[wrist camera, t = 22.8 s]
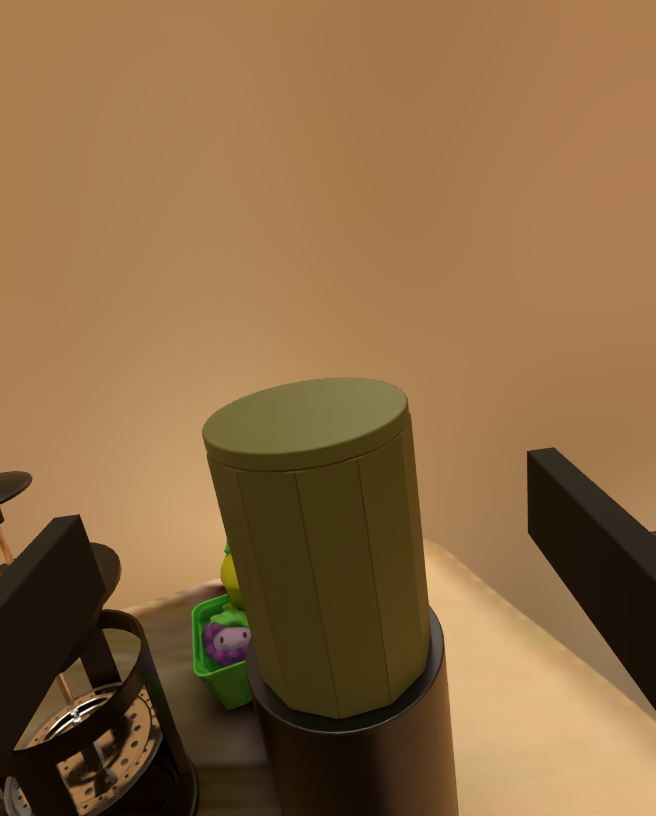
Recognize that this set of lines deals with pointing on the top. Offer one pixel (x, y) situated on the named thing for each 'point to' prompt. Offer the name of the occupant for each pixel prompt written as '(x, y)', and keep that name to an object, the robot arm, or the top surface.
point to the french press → (97, 721)
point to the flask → (364, 749)
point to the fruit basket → (223, 641)
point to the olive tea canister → (325, 539)
